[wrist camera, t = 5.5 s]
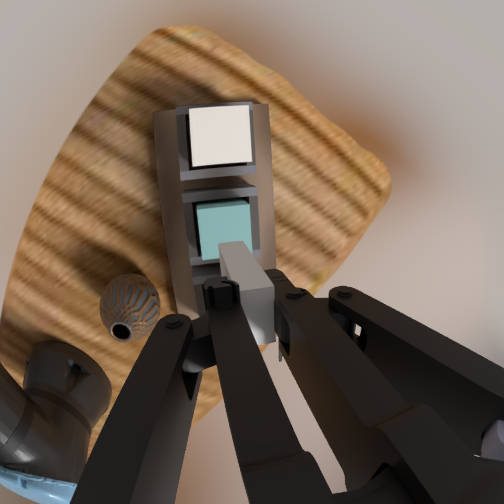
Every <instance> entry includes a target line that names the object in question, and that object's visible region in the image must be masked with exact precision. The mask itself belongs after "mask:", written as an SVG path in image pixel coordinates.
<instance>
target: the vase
mask: <svg viewBox="0 0 504 504" xmlns="http://www.w3.org/2000/svg"><path fill="white" fill-rule="evenodd" d="M159 315H160V298H159V294H158V292H157V290H156V288H155V286H154V285H153V284H152V283H151V282H150V281H149V280H148V279H147V278H145V277H144V276H141V275H139V274H134V273H127V274H122V275H119V276H117V277H116V278H114V279H113V280H111V281H110V282H109V284H108V285H107V286H106V287H105V289H104V291H103V293H102V295H101V299H100V316H101V319H102V322H103V324H104V325H105V327H106V328H107V330H108V331H109V332H110V334H111V336H112V337H113V338H114V339H115V340H117V341H119V342H128V341H130V340H137V339H140V338H142V337H144V336H146V335H147V334H148V333H150V332H151V330H152V329H153V328H154V327H155V325H156V323H157V321H158V319H159Z"/></svg>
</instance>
